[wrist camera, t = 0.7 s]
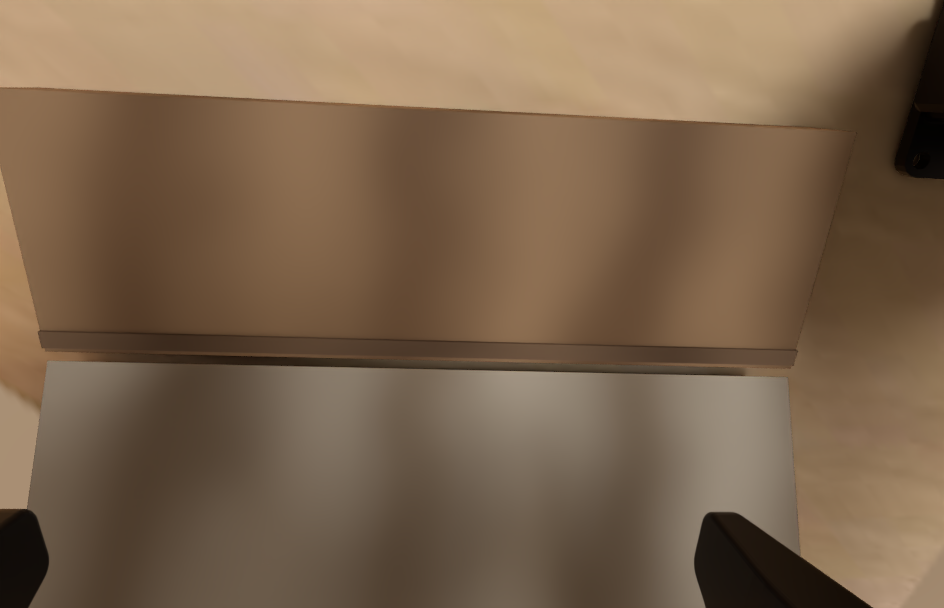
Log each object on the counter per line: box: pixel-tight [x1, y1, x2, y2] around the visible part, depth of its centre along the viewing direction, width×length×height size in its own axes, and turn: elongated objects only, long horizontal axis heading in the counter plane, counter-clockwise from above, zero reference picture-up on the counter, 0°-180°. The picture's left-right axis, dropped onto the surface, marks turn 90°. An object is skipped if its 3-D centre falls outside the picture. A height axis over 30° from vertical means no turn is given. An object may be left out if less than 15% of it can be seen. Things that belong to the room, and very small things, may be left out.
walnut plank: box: [0, 87, 857, 369], centre depth 16 cm, size 22×7×2 cm, turn 87°
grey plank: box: [27, 361, 800, 608], centre depth 17 cm, size 22×7×2 cm, turn 87°
